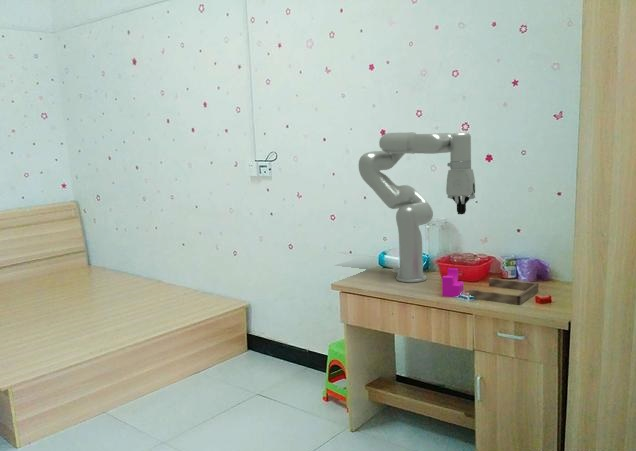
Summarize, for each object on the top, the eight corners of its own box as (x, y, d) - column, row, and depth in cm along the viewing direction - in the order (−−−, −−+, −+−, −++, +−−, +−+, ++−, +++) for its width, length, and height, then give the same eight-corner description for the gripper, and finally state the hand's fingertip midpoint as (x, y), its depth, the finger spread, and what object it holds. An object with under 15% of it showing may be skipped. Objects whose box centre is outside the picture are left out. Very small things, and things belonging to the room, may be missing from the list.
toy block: (459, 297, 205) (459, 278, 204) (442, 296, 207) (442, 277, 206) (464, 287, 219) (464, 268, 218) (448, 286, 221) (448, 268, 220)
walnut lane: (469, 297, 204) (469, 289, 203) (490, 285, 219) (490, 278, 219) (520, 305, 192) (520, 296, 192) (538, 291, 207) (538, 283, 207)
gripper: (438, 166, 213) (439, 214, 215) (475, 166, 203) (476, 216, 206) (446, 165, 218) (447, 212, 221) (483, 164, 209) (484, 213, 212)
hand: (461, 213), depth 214 cm, fingers closed
